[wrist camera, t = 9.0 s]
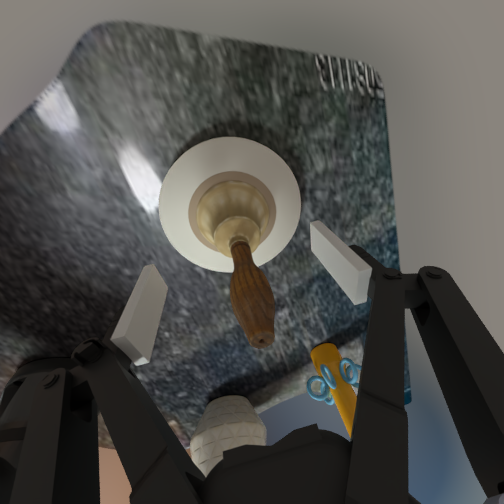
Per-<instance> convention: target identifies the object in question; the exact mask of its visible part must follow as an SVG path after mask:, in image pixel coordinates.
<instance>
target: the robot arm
mask: <svg viewBox="0 0 504 504" xmlns="http://www.w3.org/2000/svg"><path fill="white" fill-rule="evenodd" d="M310 231H311V250H312V251H313V253H314V254H315V255H316V256H317V258H318V259H319V260H320V262H321V263H322V264H323V265H324V267H325V268H326V269H327V270H328V272H329V273H330V274H331V275H332V277H333V278H334V279H335V280H336V282H337V283H338V284H339V286H340V287H341V288H342V289H343V291H344V292H345V293H346V294H347V296H348V297H349V298H350V299H351V301H352V302H353V303H354V305H356V304H360V303H364V302H366V301H367V295H368V296H369V297H370V298H371V299H372V302H371V307H370V315H369V321H368V328H367V335H366V341H365V348H364V355H363V361H362V368H361V374H360V381H359V388H358V394H357V401H356V408H355V414H354V420H353V426H352V432H351V439H350V442H349V441H348V440H347V439H345V438H344V437H342V436H340V435H338V434H336V433H333V432H331V431H327V430H320V429H318V426H317V424H313V425H310V426H306V427H303V428H299V429H296V430H293V431H292V432H291V433H289V434H288V435H286V436H285V437H284V438H282V439H281V440H279V441H278V442H277V443H275V444H274V445H272V446H263V445H248V444H246V445H242V446H239V447H236V448H232V449H229V450H225V451H223V459H222V460H221V461H219V462H218V463H217V464H216V465H215V466H214V467H213V469H212V470H211V471H210V472H209V474H208V475H207V477H205V475H204V474H203V473H202V472H201V470H200V469H199V468H198V467H197V466H196V465H195V464H194V462H193V461H192V459H191V458H190V456H189V455H188V453H187V452H186V450H185V449H184V447H183V446H182V444H181V443H180V441H179V440H178V438H177V437H176V435H175V434H174V432H173V431H172V429H171V428H170V426H169V425H168V423H167V422H166V420H165V419H164V417H163V416H162V414H161V413H160V411H159V410H158V408H157V407H156V405H155V404H154V402H153V401H152V399H151V398H150V396H149V394H148V393H147V391H146V390H145V388H144V387H143V385H142V384H141V382H140V381H139V379H138V378H137V376H136V375H135V373H134V372H133V370H132V369H131V368H130V364H131V361H132V362H133V363H134V364H135V365H136V366H138V365H142V364H145V363H149V361H150V357H151V353H152V349H153V346H154V342H155V338H156V334H157V330H158V326H159V322H160V318H161V314H162V310H163V306H164V303H165V299H166V295H167V291H168V287H167V285H166V284H165V282H164V280H163V279H162V277H161V275H160V274H159V272H158V270H157V269H156V267H155V265H154V264H151V265H147V266H144V268H143V270H142V272H141V274H140V276H139V279H138V281H137V283H136V285H135V287H134V289H133V292H132V294H131V296H130V298H129V300H128V302H127V305H126V306H125V307H122V308H120V310H119V311H118V312H117V313H116V314H115V316H114V318H113V320H112V322H111V324H110V326H109V328H108V330H107V332H106V334H105V336H104V338H103V340H102V341H101V340H100V339H99V338H97V337H92V338H89V339H87V340H85V341H83V342H82V343H81V344H79V345H78V346H77V347H76V349H75V350H74V351H73V353H72V355H71V358H48V359H41V360H37V361H33V362H30V363H28V364H25V365H23V366H22V367H20V368H19V369H18V370H17V371H16V373H15V374H14V375H13V377H12V378H11V379H10V380H9V382H8V383H7V384H6V386H5V388H4V391H3V393H2V396H1V398H0V504H100V482H99V450H98V417H97V416H98V415H99V413H100V412H101V414H102V417H103V419H104V422H105V424H106V426H107V429H108V431H109V434H110V436H111V439H112V441H113V443H114V446H115V448H116V451H117V453H118V456H119V458H120V460H121V463H122V465H123V467H124V470H125V472H126V475H127V477H128V479H129V482H130V485H131V488H132V492H131V494H130V496H129V498H130V504H421V503H420V502H418V501H417V500H416V499H415V498H414V497H412V495H410V494H409V493H408V417H407V412H406V411H405V409H404V320H405V308H410V310H411V312H412V315H413V318H414V320H415V323H416V325H417V328H418V330H419V333H420V336H421V338H422V341H423V343H424V346H425V349H426V351H427V354H428V356H429V359H430V362H431V364H432V367H433V369H434V372H435V374H436V377H437V380H438V382H439V385H440V387H441V390H442V392H443V395H444V398H445V400H446V403H447V405H448V408H449V411H450V413H451V416H452V418H453V421H454V424H455V426H456V428H457V431H458V434H459V436H460V439H461V442H462V444H463V447H464V449H465V452H466V455H467V457H468V459H469V461H470V463H471V466H472V468H473V470H474V473H475V475H476V477H477V479H478V481H479V483H480V484H481V486H482V488H483V490H484V492H485V494H486V496H487V498H488V499H486V501H485V502H484V504H504V354H503V352H502V350H501V349H500V347H499V346H498V345H497V343H496V342H495V340H494V339H493V337H492V336H491V334H490V333H489V331H488V330H487V328H486V327H485V325H484V324H483V323H482V321H481V320H480V318H479V317H478V315H477V314H476V312H475V311H474V309H473V308H472V306H471V305H470V303H469V302H468V301H467V299H466V298H465V296H464V295H463V293H462V292H461V290H460V289H459V287H458V286H457V284H456V283H455V281H454V280H453V278H452V277H451V276H450V274H449V273H447V271H445V270H443V269H441V268H438V267H434V266H424V267H422V268H420V270H419V272H418V274H402V273H401V272H400V271H398V270H396V269H393V268H385V267H384V266H383V265H382V264H381V263H379V262H378V261H377V260H376V259H375V258H373V257H372V256H371V255H370V254H369V253H367V252H366V251H365V250H364V249H363V248H361V247H359V246H357V245H351V246H347V245H346V244H345V243H344V242H343V241H341V240H340V239H339V238H338V237H337V236H336V235H335V234H334V233H333V232H332V231H330V230H329V229H328V228H327V227H326V226H325V225H324V224H323V223H322V222H320V221H319V220H318V221H314V222H311V223H310Z"/></svg>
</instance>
